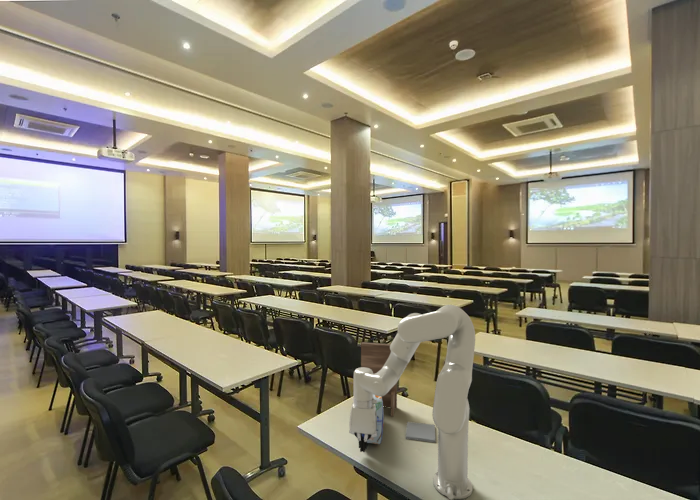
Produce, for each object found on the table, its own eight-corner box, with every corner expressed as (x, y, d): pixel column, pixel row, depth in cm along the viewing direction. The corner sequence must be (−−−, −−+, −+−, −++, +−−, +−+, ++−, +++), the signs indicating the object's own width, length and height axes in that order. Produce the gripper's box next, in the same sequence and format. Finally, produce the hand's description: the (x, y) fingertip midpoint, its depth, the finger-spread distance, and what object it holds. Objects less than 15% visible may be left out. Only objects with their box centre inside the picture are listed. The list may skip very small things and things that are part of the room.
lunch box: (358, 415, 157) (358, 368, 157) (380, 415, 157) (380, 369, 157) (359, 450, 130) (359, 394, 130) (385, 451, 130) (385, 394, 130)
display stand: (395, 416, 156) (395, 350, 156) (357, 412, 160) (358, 347, 160) (396, 407, 166) (397, 344, 165) (361, 403, 170) (361, 342, 169)
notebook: (435, 443, 136) (435, 440, 136) (405, 440, 138) (405, 436, 138) (434, 428, 147) (434, 424, 147) (407, 425, 150) (407, 421, 150)
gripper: (384, 399, 128) (383, 446, 128) (346, 395, 131) (346, 441, 131) (381, 408, 121) (381, 458, 121) (341, 404, 124) (341, 453, 124)
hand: (362, 449), depth 126 cm, fingers closed
